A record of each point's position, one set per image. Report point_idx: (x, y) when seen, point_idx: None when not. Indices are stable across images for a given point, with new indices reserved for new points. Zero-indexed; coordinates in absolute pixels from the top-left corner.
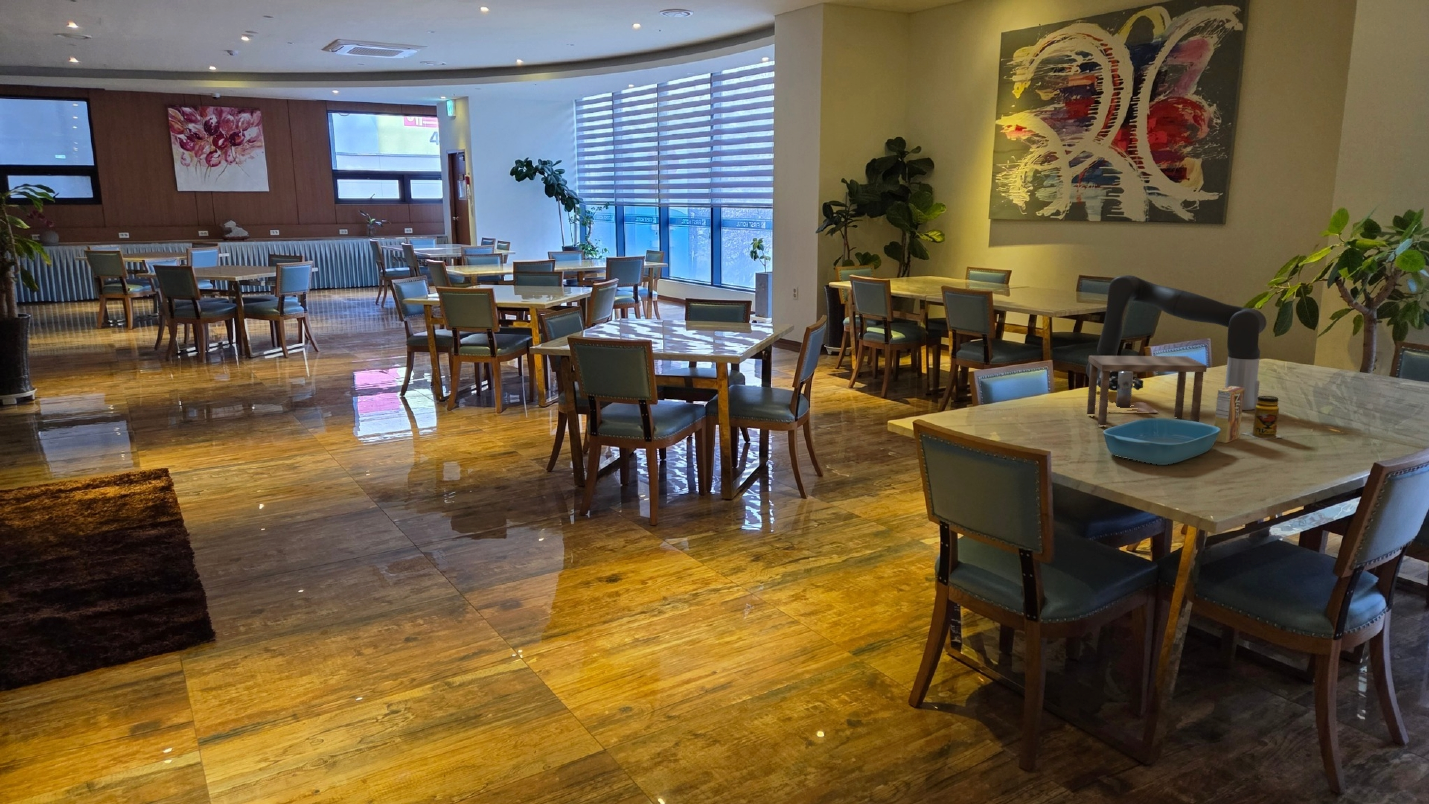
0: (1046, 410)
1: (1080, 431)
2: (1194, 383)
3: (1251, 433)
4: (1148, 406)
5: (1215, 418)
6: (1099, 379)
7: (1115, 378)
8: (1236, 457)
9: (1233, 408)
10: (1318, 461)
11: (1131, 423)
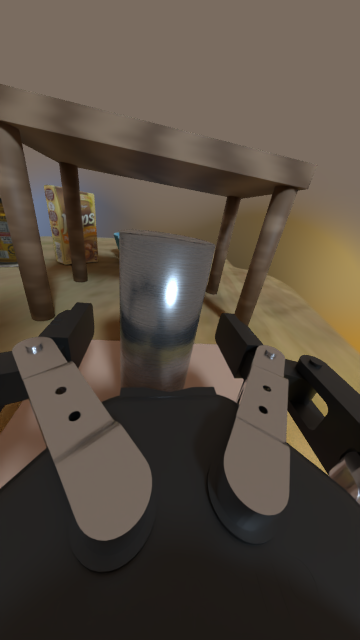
0: (352, 366)
1: (232, 285)
2: (79, 195)
3: (13, 264)
4: (22, 417)
5: (96, 234)
6: (356, 396)
7: (227, 439)
8: (111, 250)
9: None
10: (52, 241)
11: None
